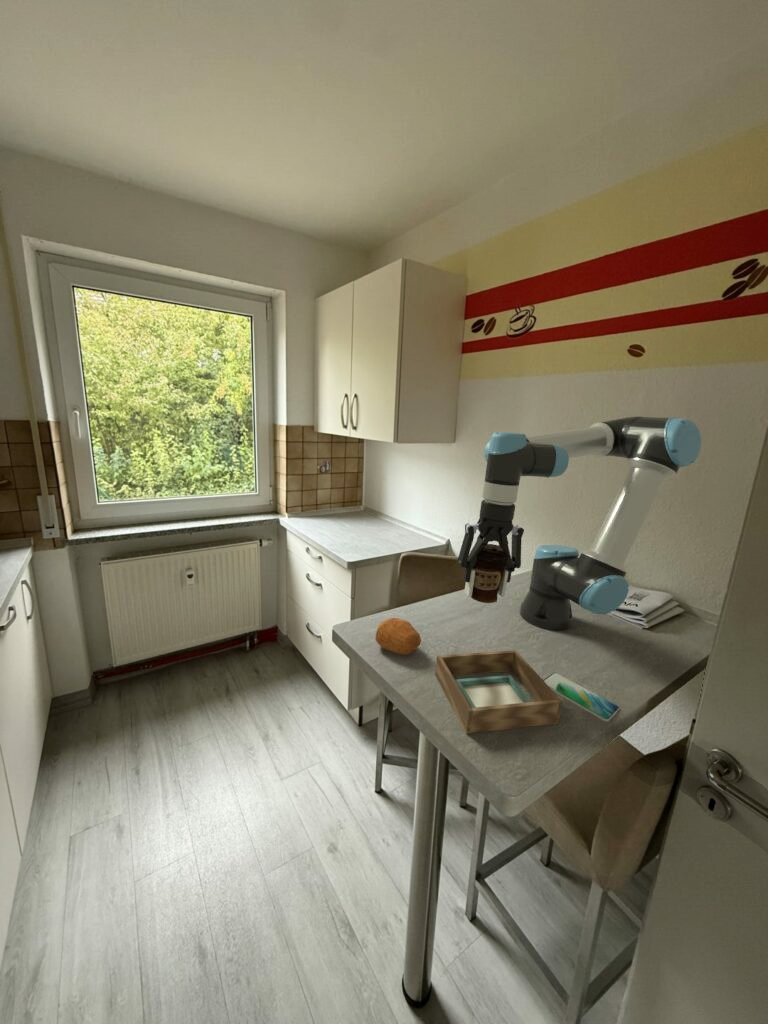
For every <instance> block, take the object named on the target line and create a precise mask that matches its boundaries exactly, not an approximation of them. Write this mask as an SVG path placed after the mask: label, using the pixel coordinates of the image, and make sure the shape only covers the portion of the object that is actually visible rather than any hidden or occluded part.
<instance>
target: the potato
mask: <svg viewBox="0 0 768 1024" xmlns="http://www.w3.org/2000/svg"><path fill="white" fill-rule="evenodd" d="M375 641H376V642H377V644H378V645H379V646H380V647H381V648H383V649H385V650H387V651H389V652H390V651H391V653H396V654H399V655H403V656H407V655H410V654H412V653H413V652H415V650H416V649H417V648H419V646H420V645H421V642H422V639H421V635H420V633H419V632H418V631H417V630H416V628H414V626H413V625H412V624H411V623H410V621H408V620H405V619H401V618H398V617H391V618H388V619H386V620H384V621H382V622H381V623H380V624H378V627H377V629H376V633H375Z"/></svg>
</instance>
